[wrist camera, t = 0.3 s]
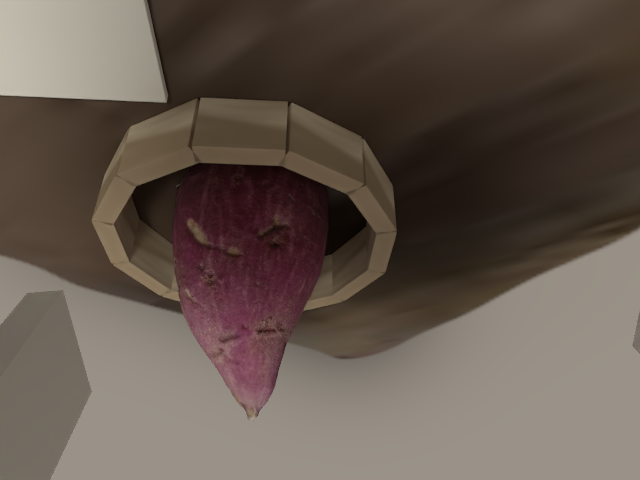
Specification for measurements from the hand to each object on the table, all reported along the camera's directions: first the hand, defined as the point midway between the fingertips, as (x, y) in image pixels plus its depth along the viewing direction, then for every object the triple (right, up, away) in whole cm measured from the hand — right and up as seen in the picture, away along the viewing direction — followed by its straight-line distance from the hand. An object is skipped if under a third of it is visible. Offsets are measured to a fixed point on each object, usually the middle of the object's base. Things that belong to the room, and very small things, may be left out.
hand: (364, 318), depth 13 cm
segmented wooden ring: (-5, +4, +24) cm, 25 cm away
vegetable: (-5, +4, +24) cm, 26 cm away
